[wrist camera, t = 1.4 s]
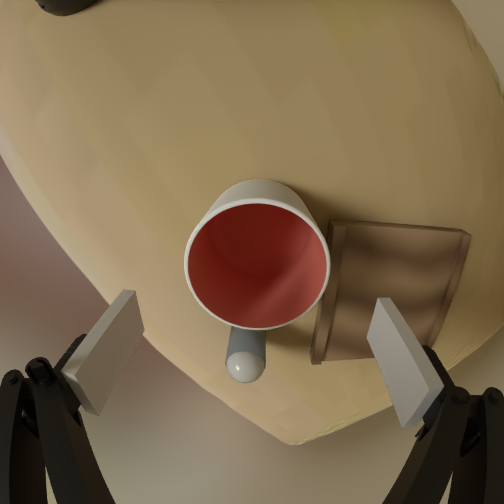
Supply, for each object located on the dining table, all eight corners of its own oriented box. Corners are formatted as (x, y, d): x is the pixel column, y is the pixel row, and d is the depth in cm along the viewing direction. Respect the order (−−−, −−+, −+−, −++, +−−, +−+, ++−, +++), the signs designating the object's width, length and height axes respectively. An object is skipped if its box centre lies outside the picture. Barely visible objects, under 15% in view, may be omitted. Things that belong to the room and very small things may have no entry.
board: (329, 219, 27) (334, 225, 25) (461, 229, 26) (470, 235, 24) (309, 353, 34) (311, 364, 32) (423, 344, 33) (428, 353, 31)
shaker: (231, 309, 32) (221, 363, 23) (266, 310, 31) (266, 365, 23) (232, 335, 33) (224, 389, 25) (265, 336, 33) (264, 391, 25)
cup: (220, 276, 30) (202, 335, 21) (201, 185, 26) (168, 211, 17) (312, 265, 29) (331, 323, 20) (304, 171, 25) (327, 189, 16)
